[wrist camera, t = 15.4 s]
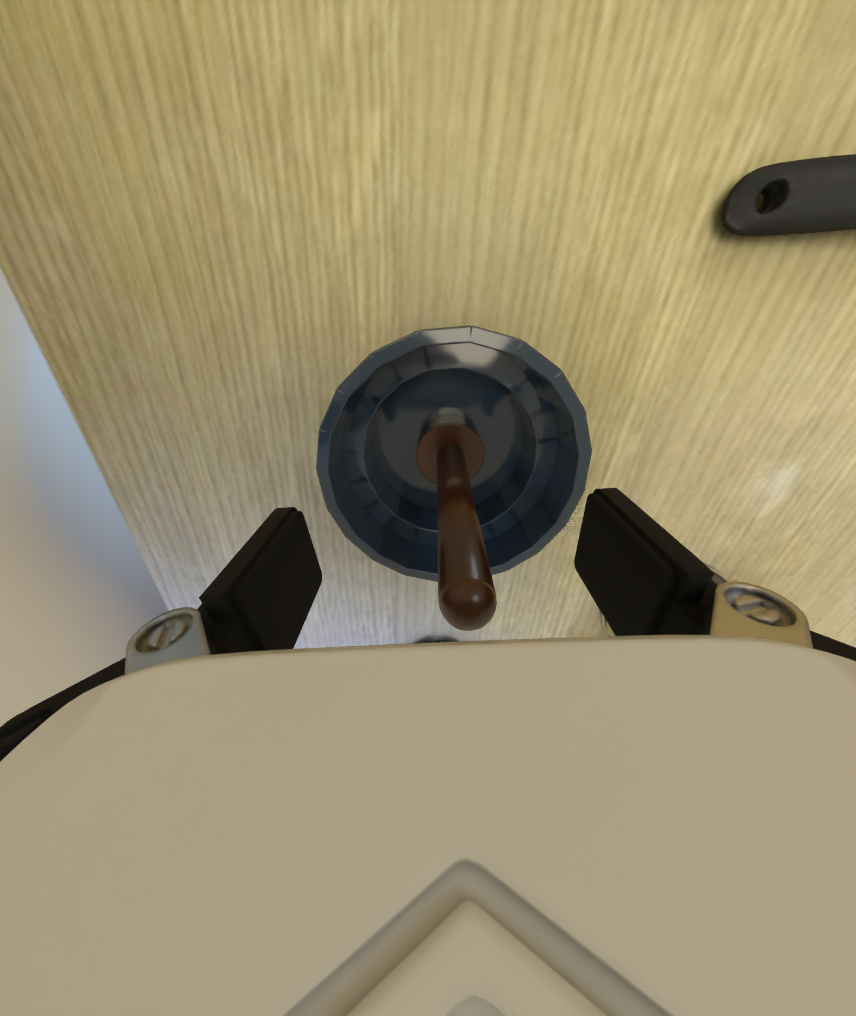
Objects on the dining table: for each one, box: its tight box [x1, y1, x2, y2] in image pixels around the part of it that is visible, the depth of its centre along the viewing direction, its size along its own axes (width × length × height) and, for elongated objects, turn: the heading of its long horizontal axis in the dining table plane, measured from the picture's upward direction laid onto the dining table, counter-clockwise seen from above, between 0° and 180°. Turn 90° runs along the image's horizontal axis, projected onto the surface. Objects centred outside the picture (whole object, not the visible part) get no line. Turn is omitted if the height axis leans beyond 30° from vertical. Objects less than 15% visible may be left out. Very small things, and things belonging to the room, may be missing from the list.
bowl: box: [316, 326, 592, 582], centre depth 18 cm, size 13×13×6 cm
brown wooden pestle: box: [416, 415, 497, 631], centre depth 14 cm, size 4×4×14 cm
